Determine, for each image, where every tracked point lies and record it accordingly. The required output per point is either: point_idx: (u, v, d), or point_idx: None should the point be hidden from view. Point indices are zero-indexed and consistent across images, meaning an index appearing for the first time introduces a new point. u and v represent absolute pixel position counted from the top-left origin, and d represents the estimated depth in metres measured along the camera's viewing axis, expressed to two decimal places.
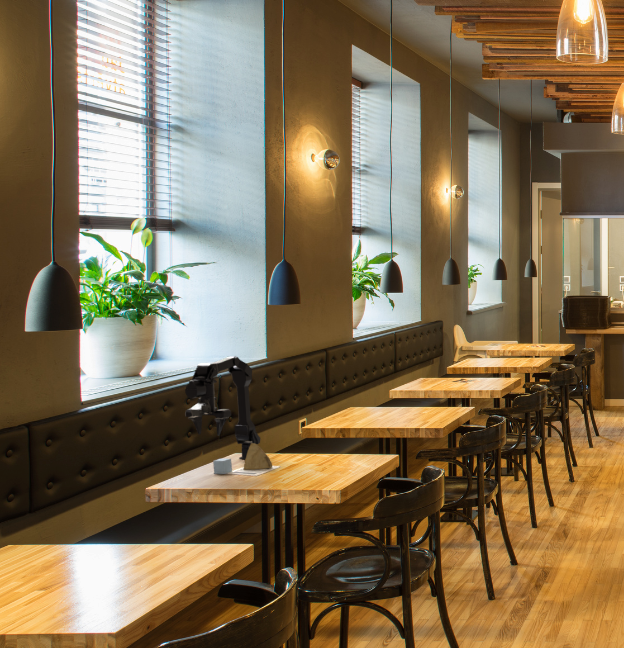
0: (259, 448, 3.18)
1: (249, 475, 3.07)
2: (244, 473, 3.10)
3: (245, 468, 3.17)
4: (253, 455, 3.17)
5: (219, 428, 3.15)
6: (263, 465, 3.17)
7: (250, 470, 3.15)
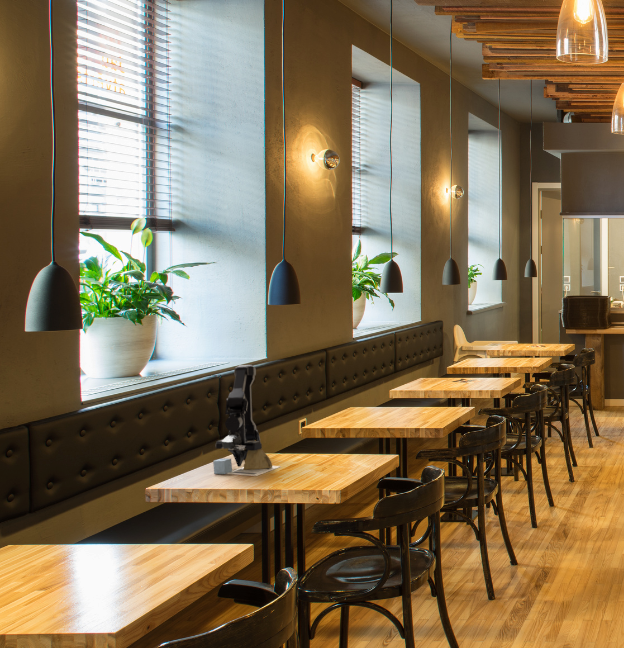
0: None
1: (249, 475, 3.07)
2: (244, 473, 3.10)
3: (245, 468, 3.17)
4: (253, 455, 3.17)
5: (240, 459, 3.19)
6: (263, 465, 3.17)
7: (250, 470, 3.15)
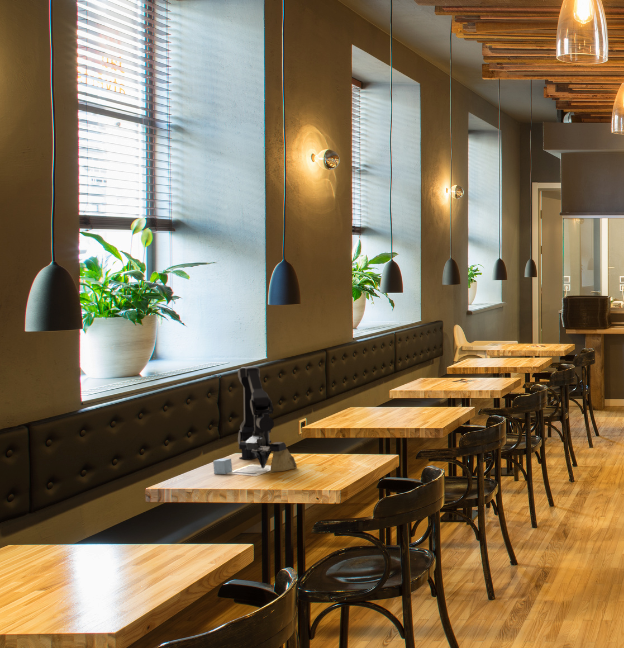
0: None
1: (249, 475, 3.07)
2: (244, 473, 3.10)
3: (273, 470, 3.11)
4: (280, 456, 3.12)
5: (264, 461, 3.13)
6: (289, 466, 3.14)
7: (250, 470, 3.15)
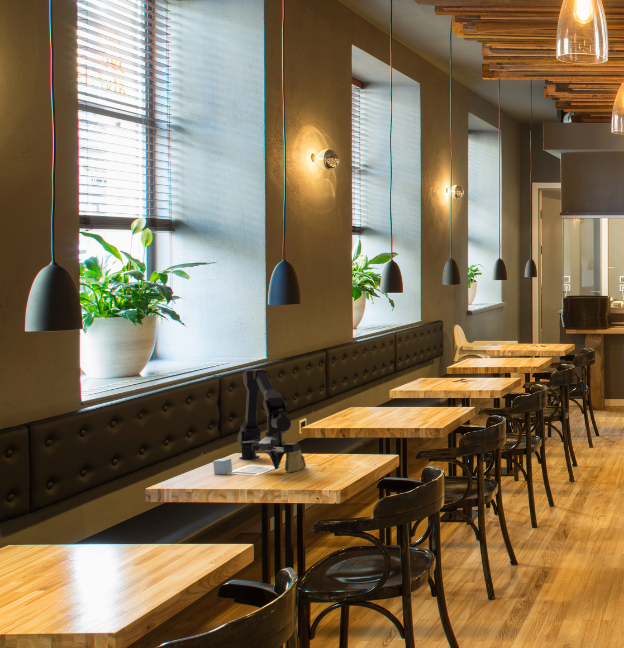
0: None
1: (249, 475, 3.07)
2: (244, 473, 3.10)
3: (289, 470, 3.09)
4: (295, 456, 3.11)
5: (278, 462, 3.10)
6: (301, 466, 3.14)
7: (250, 470, 3.15)
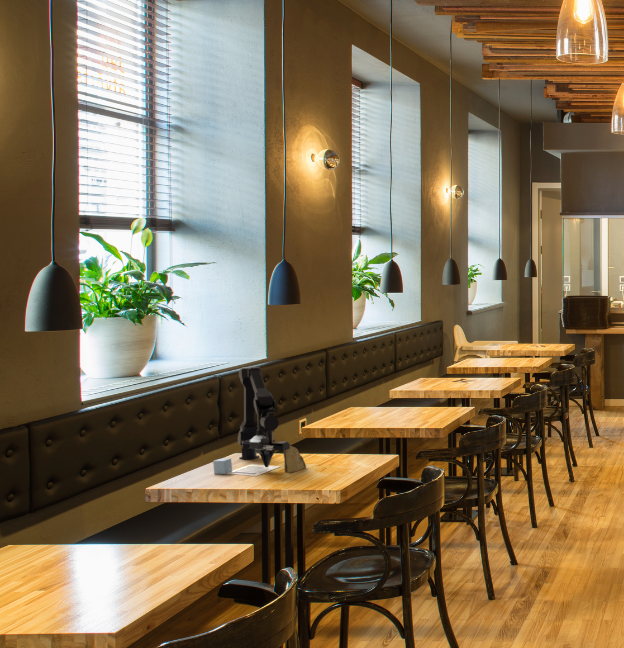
0: (296, 449, 3.14)
1: (249, 475, 3.07)
2: (244, 473, 3.10)
3: (289, 471, 3.09)
4: (293, 457, 3.12)
5: (268, 460, 3.13)
6: (300, 466, 3.15)
7: (250, 470, 3.15)
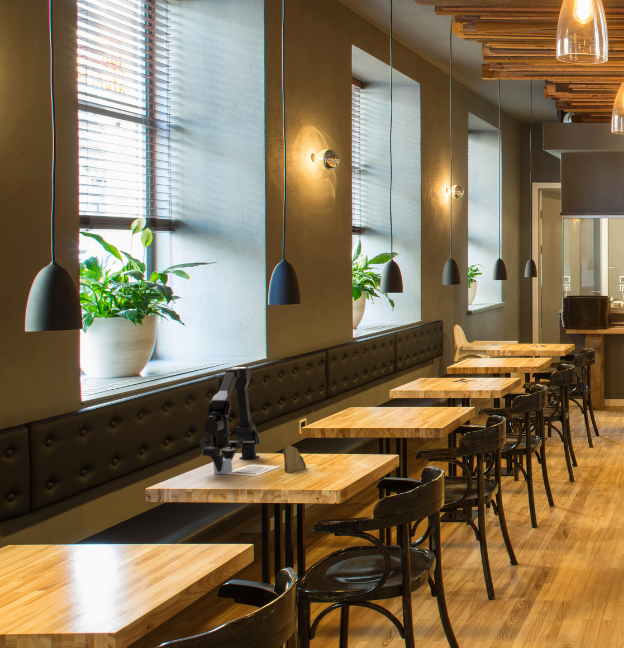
0: (296, 449, 3.14)
1: (249, 475, 3.07)
2: (244, 473, 3.10)
3: (289, 471, 3.09)
4: (293, 457, 3.12)
5: (216, 464, 3.11)
6: (300, 466, 3.15)
7: (250, 470, 3.15)
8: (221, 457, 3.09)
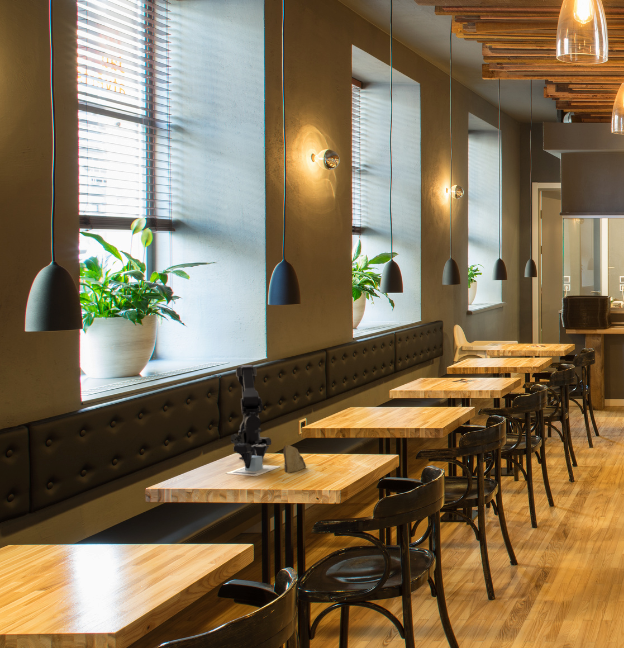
0: (296, 449, 3.14)
1: (249, 475, 3.07)
2: (244, 473, 3.10)
3: (289, 471, 3.09)
4: (293, 457, 3.12)
5: (245, 461, 3.12)
6: (300, 466, 3.15)
7: None
8: (250, 454, 3.10)
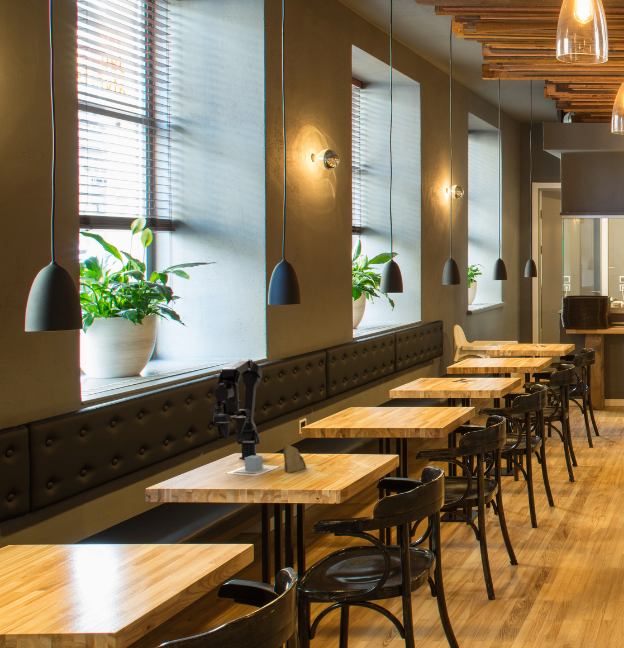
0: (296, 449, 3.14)
1: (249, 475, 3.07)
2: (244, 473, 3.10)
3: (289, 471, 3.09)
4: (293, 457, 3.12)
5: (223, 432, 3.21)
6: (300, 466, 3.15)
7: None
8: (228, 424, 3.19)
